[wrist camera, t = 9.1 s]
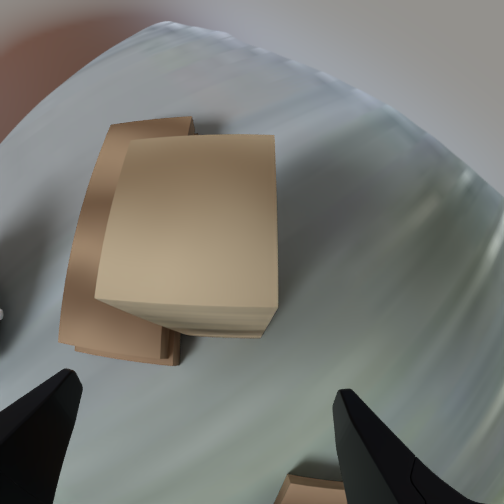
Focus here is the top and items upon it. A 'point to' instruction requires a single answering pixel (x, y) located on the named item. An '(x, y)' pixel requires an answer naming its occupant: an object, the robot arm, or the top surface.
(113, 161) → the plank stack
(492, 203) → the top surface
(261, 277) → the upright offcut
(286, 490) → the loose offcut
